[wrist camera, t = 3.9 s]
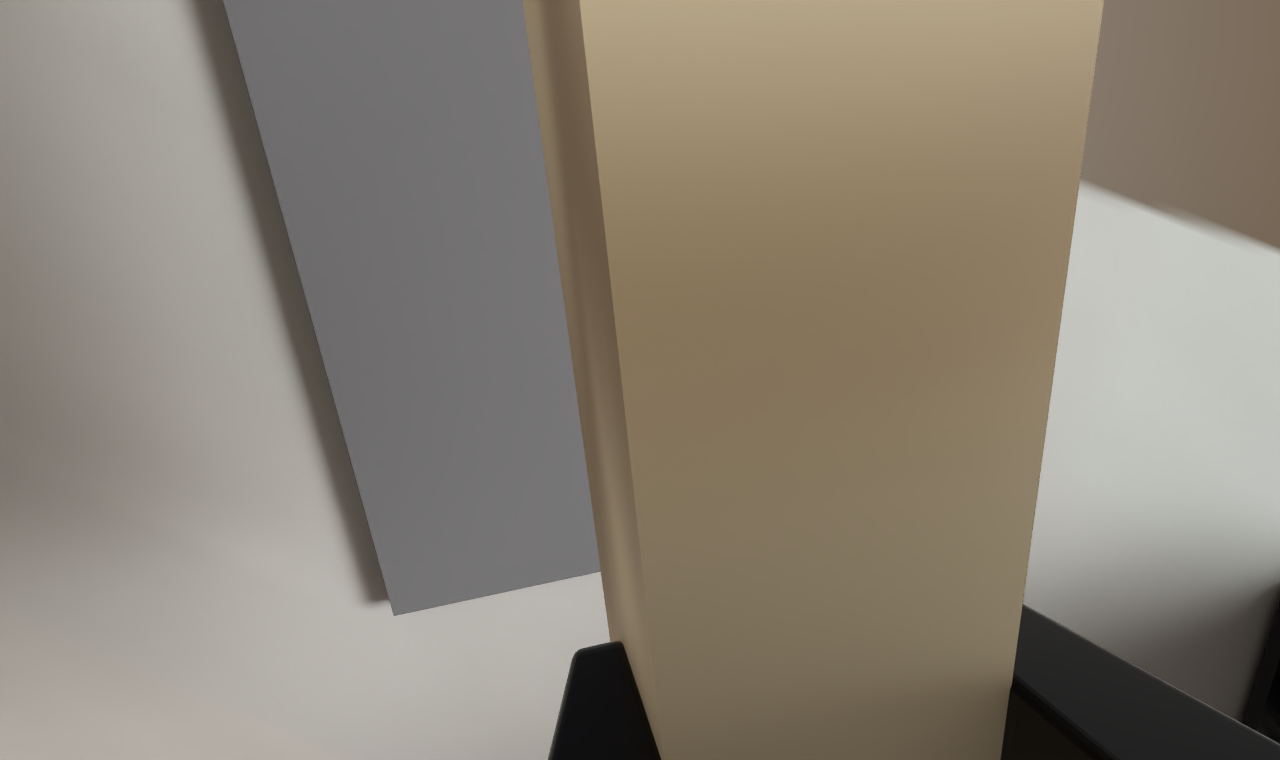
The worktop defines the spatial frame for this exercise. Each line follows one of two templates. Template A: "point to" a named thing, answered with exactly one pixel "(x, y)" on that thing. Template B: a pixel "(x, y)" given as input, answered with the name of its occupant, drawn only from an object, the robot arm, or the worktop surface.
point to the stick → (814, 349)
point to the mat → (429, 281)
